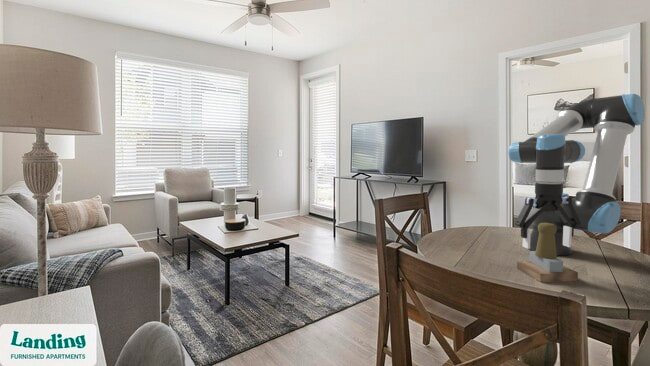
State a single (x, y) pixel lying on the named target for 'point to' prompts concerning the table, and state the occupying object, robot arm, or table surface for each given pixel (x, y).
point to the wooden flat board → (546, 273)
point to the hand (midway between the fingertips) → (546, 247)
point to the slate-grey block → (546, 263)
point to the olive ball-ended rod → (546, 241)
